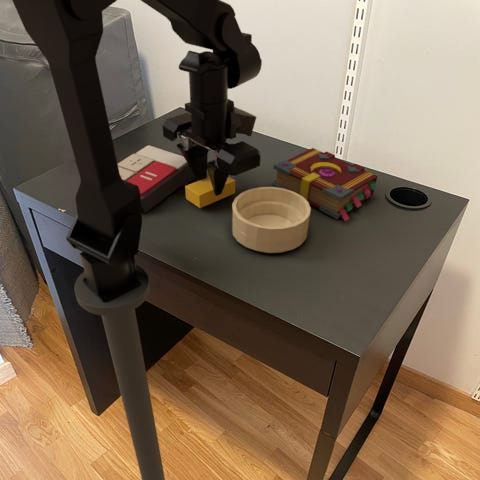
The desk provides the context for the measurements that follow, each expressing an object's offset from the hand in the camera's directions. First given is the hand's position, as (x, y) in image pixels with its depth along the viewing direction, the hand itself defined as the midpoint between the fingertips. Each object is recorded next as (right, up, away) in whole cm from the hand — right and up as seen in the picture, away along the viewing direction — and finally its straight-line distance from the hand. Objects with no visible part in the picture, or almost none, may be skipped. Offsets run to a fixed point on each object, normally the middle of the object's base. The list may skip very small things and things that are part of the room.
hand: (210, 189), depth 84 cm
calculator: (-12, +2, +4) cm, 13 cm away
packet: (0, -1, +1) cm, 1 cm away
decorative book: (+21, 0, +4) cm, 21 cm away
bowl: (+10, -9, -5) cm, 14 cm away
